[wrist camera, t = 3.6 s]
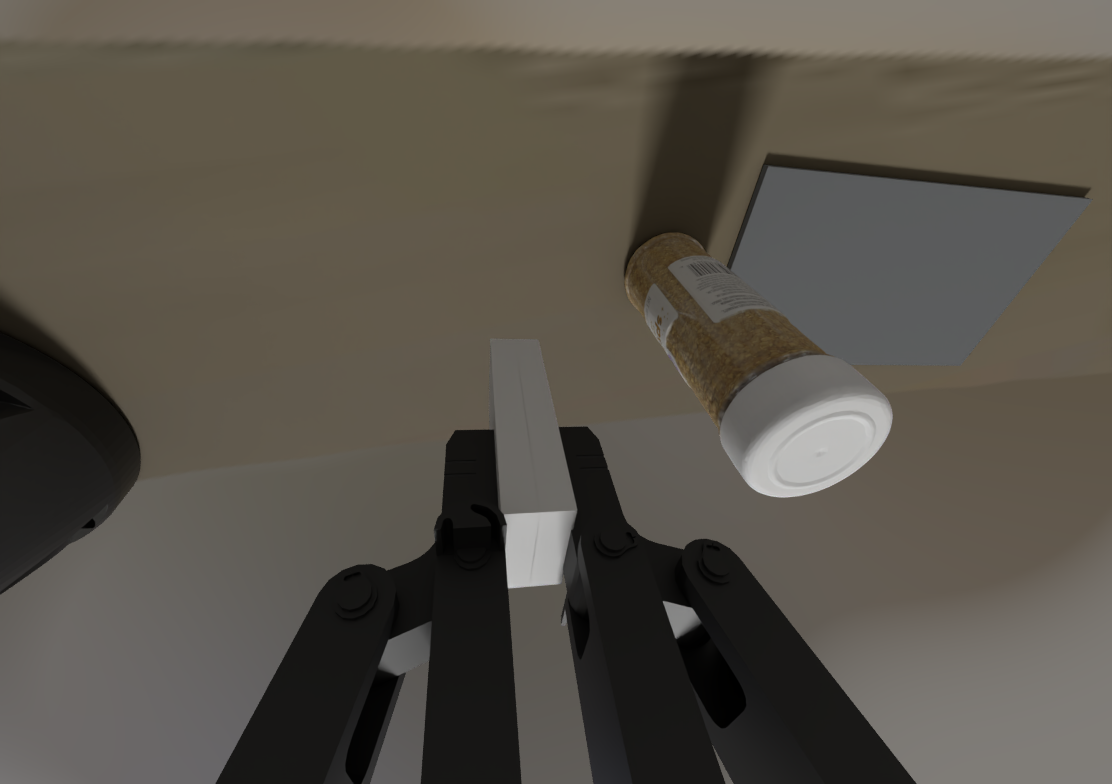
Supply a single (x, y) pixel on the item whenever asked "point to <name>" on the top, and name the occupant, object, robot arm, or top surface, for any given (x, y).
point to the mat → (893, 259)
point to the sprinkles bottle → (756, 372)
